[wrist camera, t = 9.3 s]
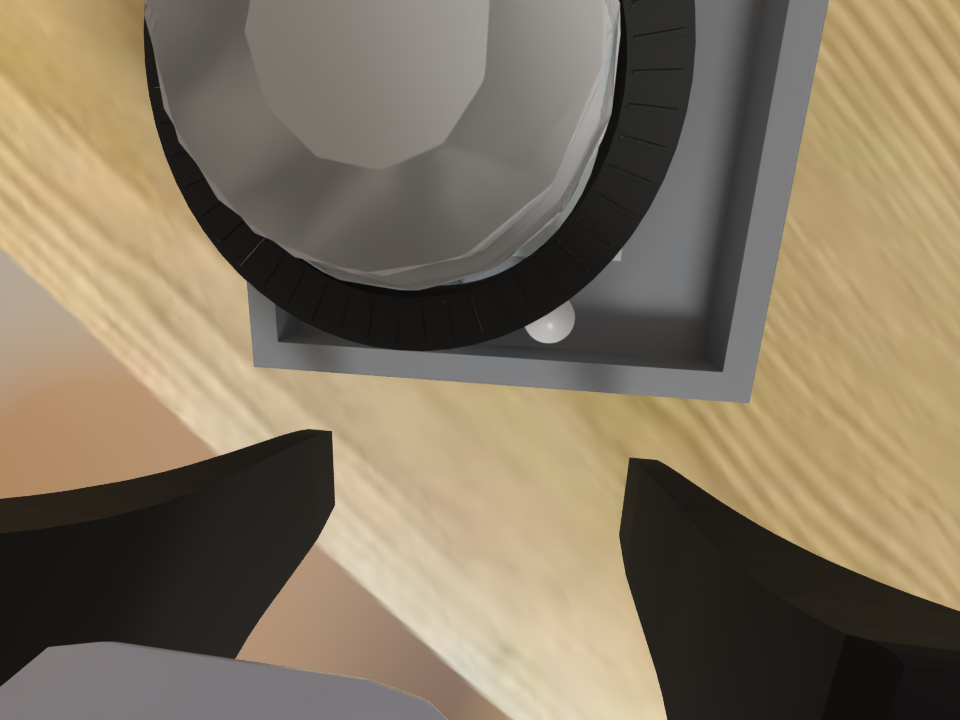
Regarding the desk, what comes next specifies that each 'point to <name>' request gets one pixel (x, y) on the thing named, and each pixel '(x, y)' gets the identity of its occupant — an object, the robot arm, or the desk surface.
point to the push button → (418, 149)
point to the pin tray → (647, 244)
